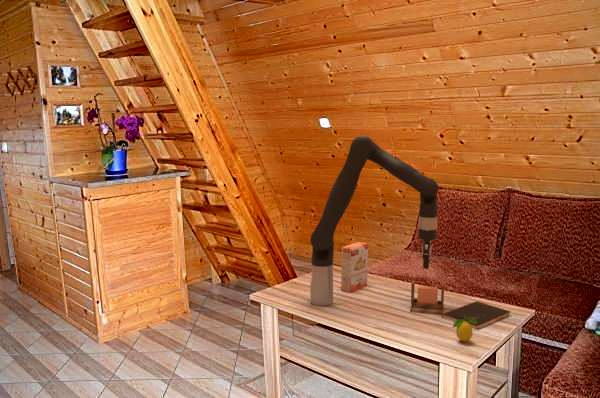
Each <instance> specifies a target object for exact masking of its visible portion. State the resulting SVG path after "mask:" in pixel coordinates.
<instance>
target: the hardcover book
mask: <svg viewBox="0 0 600 398" xmlns="http://www.w3.org/2000/svg"><path fill="white" fill-rule="evenodd" d="M511 312H512V311H511V310H507V309H504V308H501V307H497V306H494V305H491V304H488V303H484V302H480V301H479V300H478V301H477V300H476V301H474V302H470V303H468V304H465V305H462V306H460V307H457V308H454V309H452V310H449V311H446V312H443V314H442V315H441V318H442V319H445V318H446V320H448V319H449V320H448V321H451V320H452V322H454V321H457V320H459V319H461V320H463V319H464V315H465V321H466V322H468V323H469V324H470V325H471V327H472V329H474V328H475V329H474V330H478V329H477V328H479V329H481V328H483V327H485V326H484V325H486V324H488V325H490V324H492V323H491V322H493V321H495V322H497V321H499V320H498V319H500V318H502V317H504V318H506V317H505V316H507V315H509V316H510V313H511ZM467 317H473V318H475V319H476V321H477V323H476V324H473V323H471V322H469V321H468V319H467ZM507 317H508V316H507ZM502 319H503V318H502ZM496 320H497V321H496ZM500 320H501V319H500ZM463 321H464V320H463ZM489 323H490V324H489ZM493 323H494V322H493ZM482 326H483V327H482ZM486 326H487V325H486ZM480 327H481V328H480Z"/></svg>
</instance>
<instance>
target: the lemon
mask: <svg viewBox="0 0 600 398" xmlns="http://www.w3.org/2000/svg"><path fill="white" fill-rule="evenodd" d="M467 319H468V321H469V322H471V323H473V324H476V323H477V321H476V319H475V318H473V317H467ZM463 320H464V321H463ZM463 320H461V319H459V320H457V321H455V322H453V325H452V328H454V329H455V331H456V332H455V333H456V337H457V338H458V339H459V340H461V342H467V341H470V340H471V339H472V336H473V328H472V327H471V325H470V324H469V323H468V322H466V321H465V315H464V319H463Z"/></svg>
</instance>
